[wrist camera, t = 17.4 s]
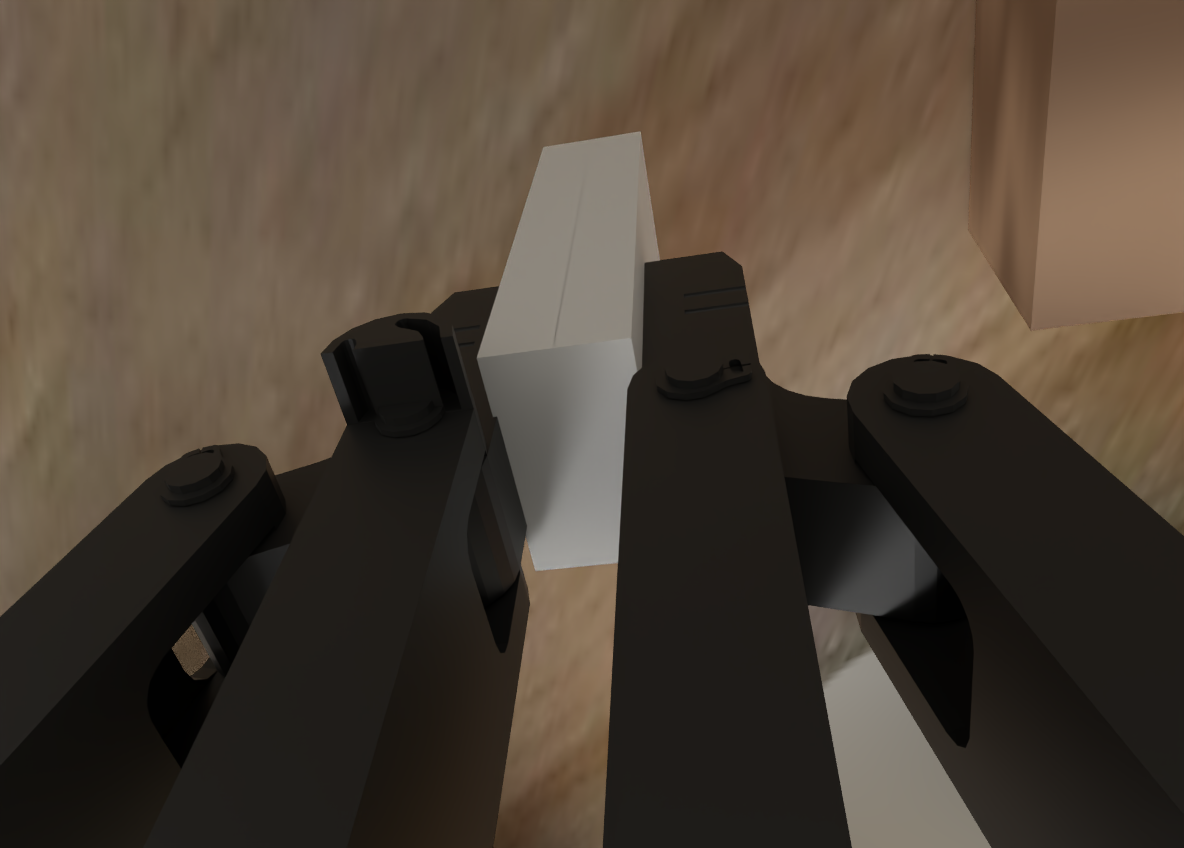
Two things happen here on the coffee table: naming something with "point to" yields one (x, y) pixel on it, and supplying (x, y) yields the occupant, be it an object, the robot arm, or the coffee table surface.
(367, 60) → the coffee table surface
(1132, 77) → the block
